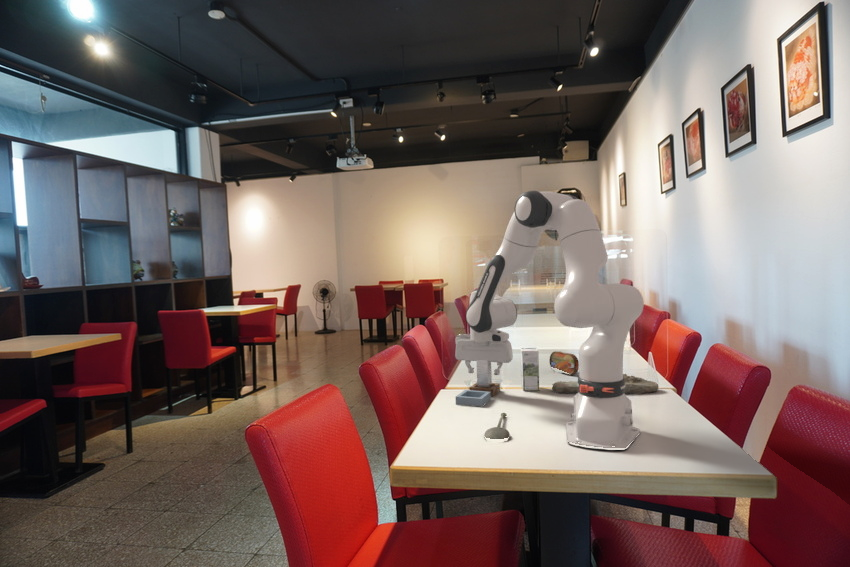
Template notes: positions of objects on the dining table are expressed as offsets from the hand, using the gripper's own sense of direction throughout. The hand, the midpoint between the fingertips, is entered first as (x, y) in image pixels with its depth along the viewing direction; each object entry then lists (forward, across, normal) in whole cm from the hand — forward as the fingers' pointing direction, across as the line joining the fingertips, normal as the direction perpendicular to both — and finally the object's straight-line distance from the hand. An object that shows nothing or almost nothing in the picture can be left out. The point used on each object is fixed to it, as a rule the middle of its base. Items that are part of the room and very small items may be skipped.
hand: (484, 373), depth 182 cm
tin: (+7, +21, +37) cm, 43 cm away
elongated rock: (+7, +39, +13) cm, 41 cm away
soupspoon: (+7, +16, -35) cm, 39 cm away
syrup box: (+7, +14, +9) cm, 18 cm away
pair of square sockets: (+6, 0, -6) cm, 9 cm away
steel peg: (+7, 0, 0) cm, 7 cm away
